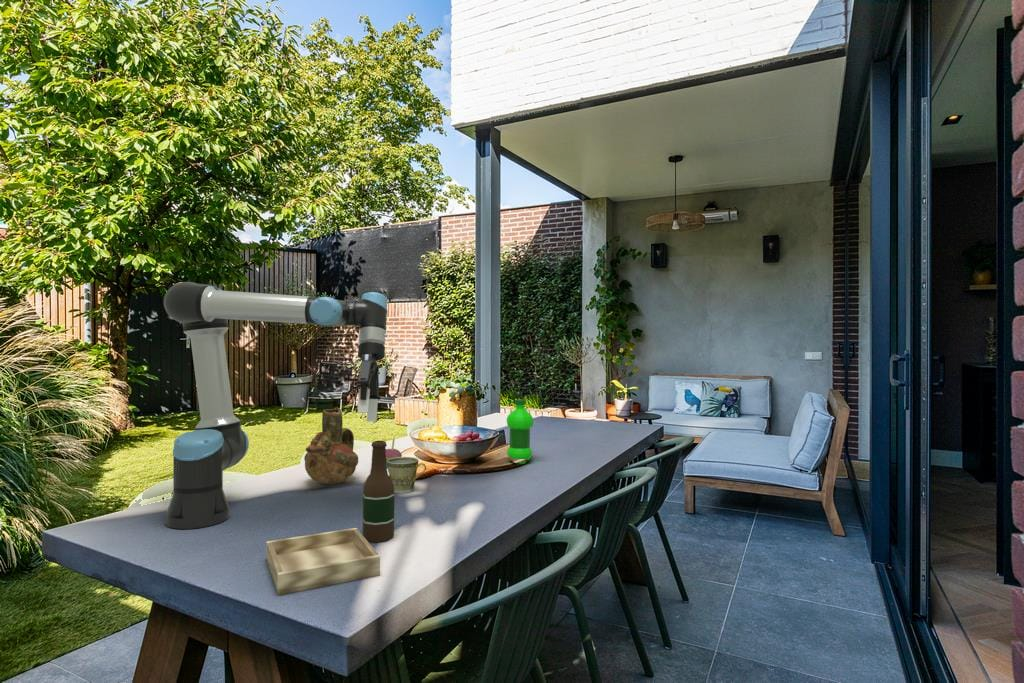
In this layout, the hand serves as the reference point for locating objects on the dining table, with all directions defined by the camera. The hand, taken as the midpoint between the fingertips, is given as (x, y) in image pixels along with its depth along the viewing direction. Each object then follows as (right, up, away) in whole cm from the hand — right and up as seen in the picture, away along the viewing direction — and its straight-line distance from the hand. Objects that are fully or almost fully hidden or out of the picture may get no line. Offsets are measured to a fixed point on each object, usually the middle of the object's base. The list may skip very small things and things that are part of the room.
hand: (367, 417), depth 160 cm
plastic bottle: (+43, -27, +68) cm, 85 cm away
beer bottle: (+7, -28, -17) cm, 34 cm away
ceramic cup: (+6, -27, +25) cm, 37 cm away
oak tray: (-1, -28, -36) cm, 45 cm away
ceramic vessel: (-21, -27, +32) cm, 47 cm away
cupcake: (-6, -27, +57) cm, 63 cm away
